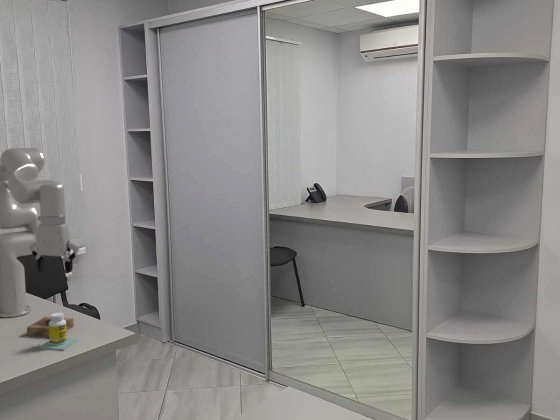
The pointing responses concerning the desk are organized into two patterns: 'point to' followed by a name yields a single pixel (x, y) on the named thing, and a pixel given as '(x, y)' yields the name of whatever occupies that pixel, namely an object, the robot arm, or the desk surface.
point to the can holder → (45, 327)
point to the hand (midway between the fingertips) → (55, 271)
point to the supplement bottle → (57, 329)
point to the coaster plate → (58, 347)
